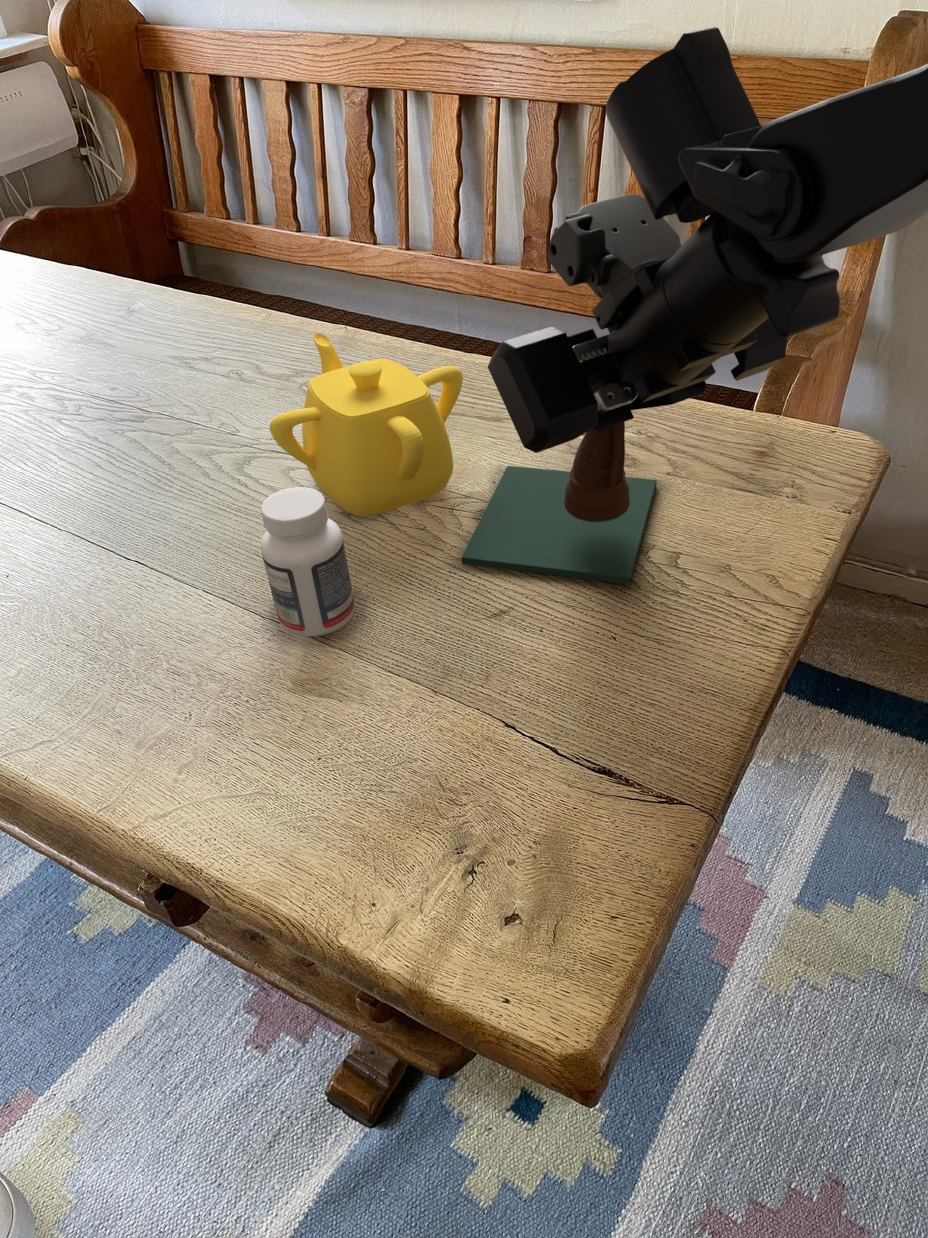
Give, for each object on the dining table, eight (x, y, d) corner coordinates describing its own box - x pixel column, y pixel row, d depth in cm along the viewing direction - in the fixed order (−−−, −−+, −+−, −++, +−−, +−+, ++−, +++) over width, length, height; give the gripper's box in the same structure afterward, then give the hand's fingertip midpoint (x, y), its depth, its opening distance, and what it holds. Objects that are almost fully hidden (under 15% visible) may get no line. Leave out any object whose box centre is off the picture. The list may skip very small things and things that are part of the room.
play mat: (656, 486, 75) (656, 479, 75) (629, 585, 65) (630, 577, 65) (507, 471, 78) (507, 465, 78) (461, 564, 69) (460, 557, 68)
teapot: (263, 515, 75) (235, 394, 69) (333, 437, 84) (314, 324, 78) (426, 540, 71) (412, 414, 65) (481, 454, 80) (474, 337, 74)
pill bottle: (355, 586, 67) (336, 476, 62) (356, 634, 63) (336, 521, 58) (279, 595, 67) (254, 485, 61) (276, 643, 63) (248, 530, 57)
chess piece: (606, 480, 70) (609, 352, 64) (646, 513, 67) (654, 381, 60) (552, 499, 69) (549, 370, 62) (590, 534, 65) (591, 401, 59)
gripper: (779, 125, 54) (644, 272, 68) (497, 192, 47) (414, 339, 62) (864, 302, 53) (710, 412, 68) (590, 396, 47) (485, 496, 61)
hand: (584, 411), depth 65 cm, fingers closed on chess piece
